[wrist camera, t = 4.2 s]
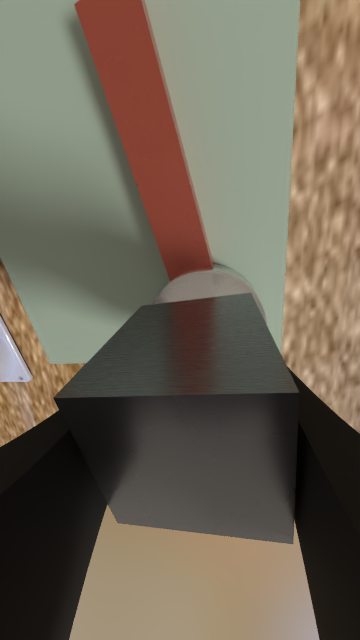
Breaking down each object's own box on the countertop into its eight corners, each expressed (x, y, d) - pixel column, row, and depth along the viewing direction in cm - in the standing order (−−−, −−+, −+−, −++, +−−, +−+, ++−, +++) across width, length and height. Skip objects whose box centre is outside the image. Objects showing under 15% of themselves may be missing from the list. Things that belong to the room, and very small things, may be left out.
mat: (53, 361, 20) (50, 363, 20) (-130, -36, 11) (-142, -45, 10) (279, 355, 16) (280, 358, 16) (313, -312, 6) (318, -343, 6)
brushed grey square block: (163, 388, 12) (117, 522, 7) (141, 305, 10) (53, 397, 5) (256, 386, 11) (293, 544, 6) (250, 292, 9) (299, 392, 4)
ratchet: (267, 345, 15) (290, 406, 10) (177, 361, 17) (159, 419, 12) (193, -30, 9) (158, -357, 4) (60, 63, 11) (-78, -72, 6)
